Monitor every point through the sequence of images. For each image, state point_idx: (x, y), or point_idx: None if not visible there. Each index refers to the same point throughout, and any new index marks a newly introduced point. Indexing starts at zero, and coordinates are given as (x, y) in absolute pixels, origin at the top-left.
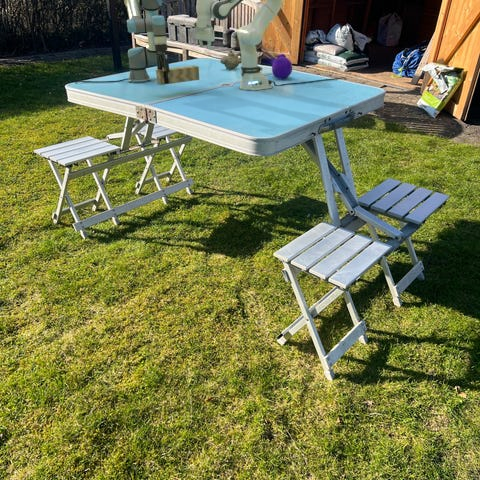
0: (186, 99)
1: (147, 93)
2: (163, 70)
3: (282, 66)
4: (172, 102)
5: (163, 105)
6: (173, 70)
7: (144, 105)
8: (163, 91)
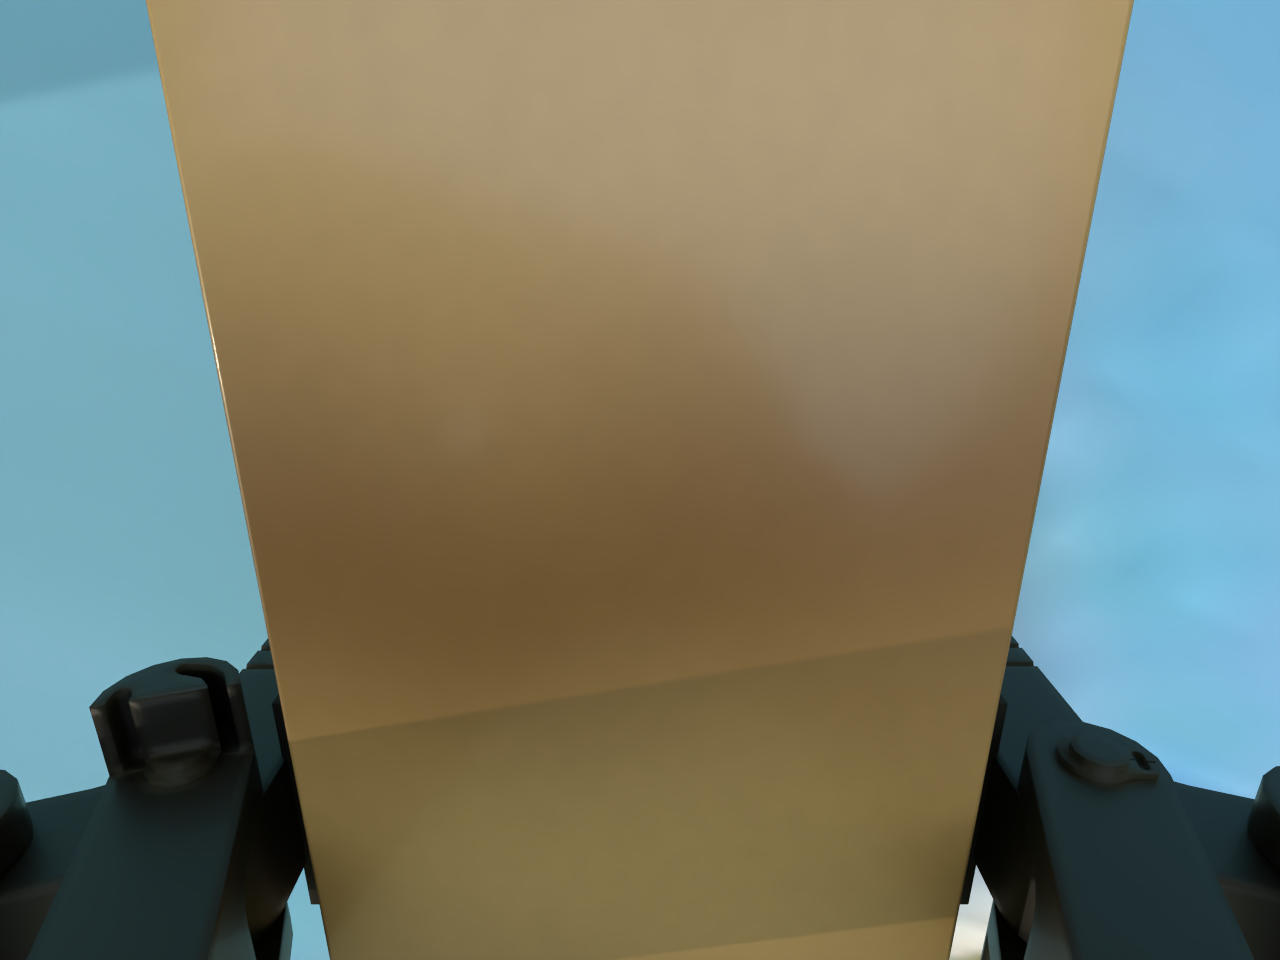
0: (1196, 118)
1: (91, 588)
2: (779, 946)
3: None
4: (1171, 503)
5: (1226, 715)
6: (1049, 272)
7: (975, 922)
8: (21, 212)
